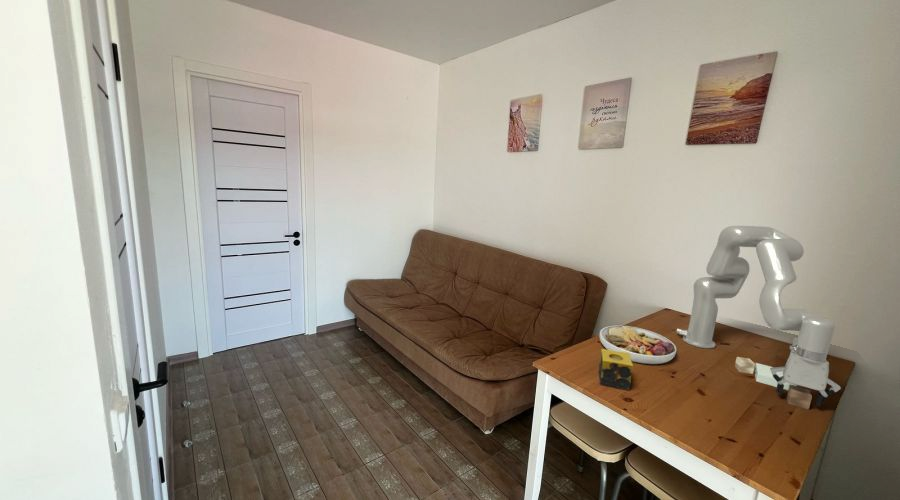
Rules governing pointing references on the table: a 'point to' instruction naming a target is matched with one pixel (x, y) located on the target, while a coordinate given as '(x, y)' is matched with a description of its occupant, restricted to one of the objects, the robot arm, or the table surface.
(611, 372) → the yellow black cube
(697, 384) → the table surface
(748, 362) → the birch block
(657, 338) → the bowl
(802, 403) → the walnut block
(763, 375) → the plate
